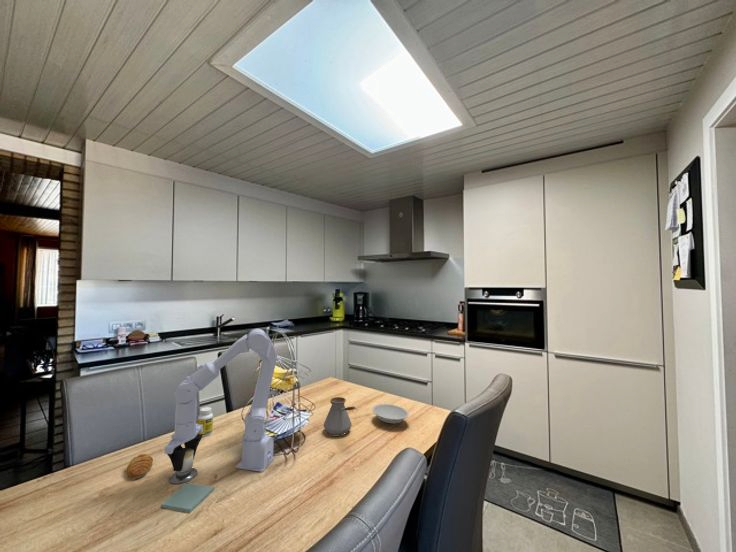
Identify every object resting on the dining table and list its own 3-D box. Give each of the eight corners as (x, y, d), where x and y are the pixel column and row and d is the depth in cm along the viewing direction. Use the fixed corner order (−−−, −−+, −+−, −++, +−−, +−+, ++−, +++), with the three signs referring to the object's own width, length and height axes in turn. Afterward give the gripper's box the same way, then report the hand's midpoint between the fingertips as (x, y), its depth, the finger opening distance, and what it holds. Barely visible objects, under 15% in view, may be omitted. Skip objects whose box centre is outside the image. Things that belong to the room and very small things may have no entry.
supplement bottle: (205, 438, 116) (206, 412, 117) (193, 436, 118) (194, 410, 118) (215, 431, 122) (216, 407, 122) (203, 430, 123) (204, 405, 123)
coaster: (214, 490, 87) (214, 487, 87) (190, 512, 78) (190, 509, 78) (187, 485, 88) (187, 482, 88) (160, 507, 80) (160, 504, 80)
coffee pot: (319, 428, 126) (320, 392, 126) (344, 423, 131) (345, 388, 132) (340, 453, 107) (340, 410, 108) (368, 445, 113) (368, 405, 113)
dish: (416, 425, 130) (416, 413, 130) (391, 434, 121) (391, 422, 122) (389, 412, 144) (389, 401, 144) (365, 419, 135) (365, 408, 136)
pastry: (151, 476, 93) (152, 464, 93) (123, 484, 89) (124, 471, 89) (153, 462, 100) (153, 450, 101) (127, 468, 97) (127, 456, 97)
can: (196, 464, 95) (197, 449, 95) (183, 473, 90) (184, 458, 90) (184, 462, 96) (184, 447, 96) (170, 471, 91) (171, 455, 91)
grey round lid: (203, 470, 96) (203, 462, 96) (184, 486, 88) (184, 477, 88) (182, 467, 97) (182, 459, 97) (162, 482, 90) (162, 473, 90)
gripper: (189, 410, 101) (187, 451, 100) (155, 430, 87) (153, 479, 86) (209, 411, 100) (207, 453, 100) (178, 432, 86) (176, 480, 85)
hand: (183, 465), depth 93 cm, fingers closed on can, 5 cm apart
